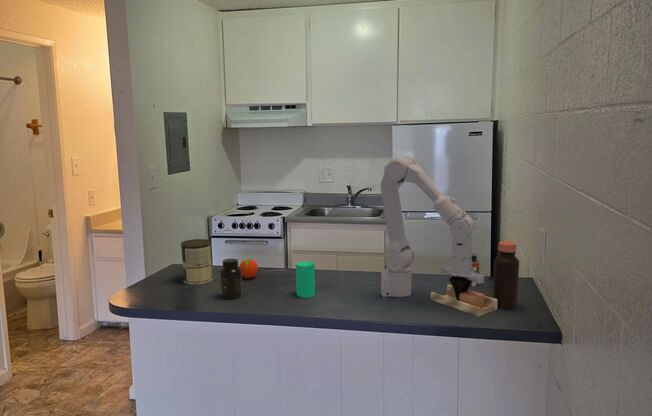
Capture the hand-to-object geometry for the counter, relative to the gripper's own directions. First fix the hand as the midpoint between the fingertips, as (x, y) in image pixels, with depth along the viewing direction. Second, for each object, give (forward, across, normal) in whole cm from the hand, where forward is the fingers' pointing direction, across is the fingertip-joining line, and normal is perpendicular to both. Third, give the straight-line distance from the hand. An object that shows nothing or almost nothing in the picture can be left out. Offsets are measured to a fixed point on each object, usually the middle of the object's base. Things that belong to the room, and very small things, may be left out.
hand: (460, 300), depth 148 cm
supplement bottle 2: (+2, -10, +18) cm, 21 cm away
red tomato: (+2, -66, -36) cm, 75 cm away
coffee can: (+2, -76, -51) cm, 91 cm away
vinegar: (+2, +9, +9) cm, 13 cm away
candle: (+2, -39, -30) cm, 49 cm away
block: (+1, +4, 0) cm, 4 cm away
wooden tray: (+2, +1, +4) cm, 4 cm away
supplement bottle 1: (+2, -52, -49) cm, 72 cm away
